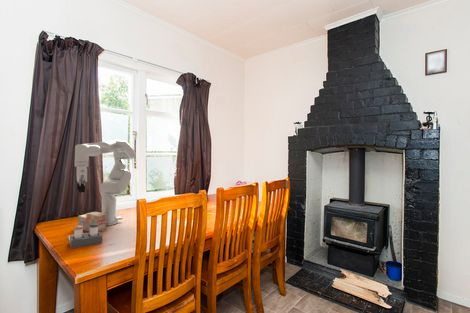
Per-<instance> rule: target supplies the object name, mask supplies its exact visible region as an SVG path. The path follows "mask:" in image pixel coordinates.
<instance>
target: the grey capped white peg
mask: <svg viewBox="0 0 470 313" xmlns="http://www.w3.org/2000/svg"><path fill="white" fill-rule="evenodd" d="M89 233H90V237H92V236H98V224H97V223H94V224H90V231H89Z"/></svg>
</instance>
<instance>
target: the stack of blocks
mask: <svg viewBox="0 0 470 313" xmlns="http://www.w3.org/2000/svg"><path fill="white" fill-rule="evenodd" d="M94 223H97V224H98V232H100V233H101V232H103V231H106V230H107V225H106V214H103V213H102V212H98V211H92V212H87V213H85V214H81V215H80V214H79V215H78V216H77V226H78V225H82V226H83V231H86V232H90V224H94Z"/></svg>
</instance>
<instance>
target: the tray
mask: <svg viewBox="0 0 470 313" xmlns="http://www.w3.org/2000/svg"><path fill="white" fill-rule="evenodd" d="M87 233H88V232H85V233H84V232H83V234H87ZM70 236H74V234H70V235H68V237H67V238H68V241H69V242H70Z"/></svg>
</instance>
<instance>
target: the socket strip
mask: <svg viewBox="0 0 470 313" xmlns="http://www.w3.org/2000/svg"><path fill="white" fill-rule="evenodd" d="M86 233H87V234H83V238H79V239H74V236H70V235H69V236H70V241H69V245H70V249H73V248H75V249H76V248H80V247H87V246H92V245H93V246H94V245H98V244H103V234H102V233H101V231H100V232H98V236H92V237H90V232H86Z"/></svg>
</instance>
